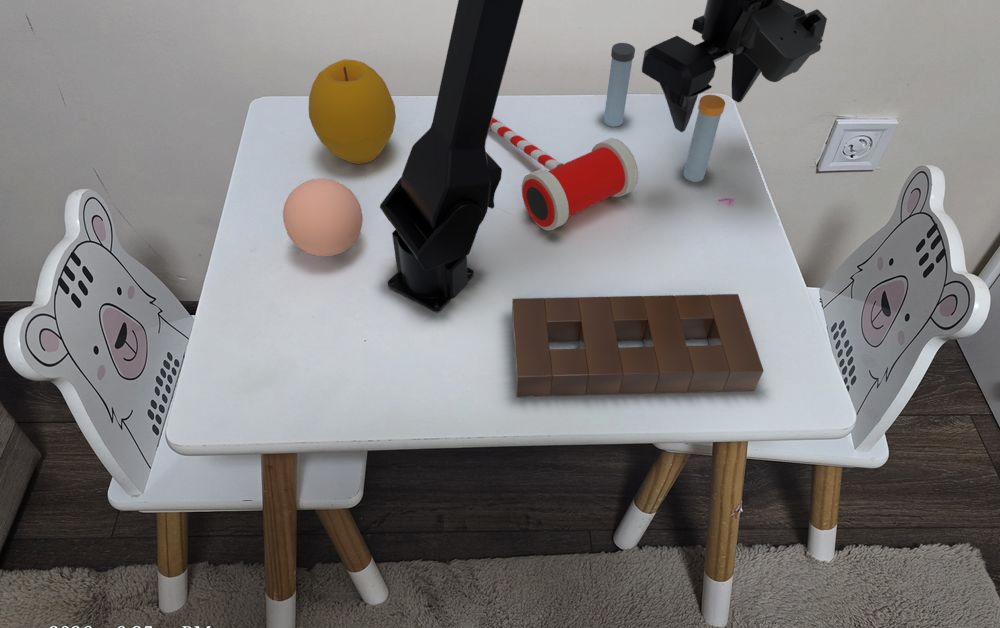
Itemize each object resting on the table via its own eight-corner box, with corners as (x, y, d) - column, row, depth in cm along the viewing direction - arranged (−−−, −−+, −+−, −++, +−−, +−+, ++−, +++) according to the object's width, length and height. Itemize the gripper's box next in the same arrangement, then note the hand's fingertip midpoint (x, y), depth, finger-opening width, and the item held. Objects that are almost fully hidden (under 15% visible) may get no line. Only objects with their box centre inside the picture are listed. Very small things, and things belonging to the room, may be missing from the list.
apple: (321, 131, 94) (303, 43, 85) (400, 128, 94) (390, 40, 85) (315, 181, 87) (295, 91, 78) (399, 177, 88) (389, 88, 79)
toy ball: (341, 211, 84) (330, 153, 78) (381, 248, 80) (373, 190, 74) (278, 243, 80) (260, 185, 74) (316, 284, 76) (301, 226, 71)
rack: (516, 396, 68) (517, 376, 65) (511, 319, 74) (512, 298, 71) (755, 390, 68) (764, 370, 66) (730, 314, 74) (738, 293, 72)
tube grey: (598, 122, 95) (607, 49, 88) (608, 112, 97) (618, 40, 89) (617, 130, 94) (628, 56, 87) (627, 119, 96) (639, 46, 88)
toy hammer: (439, 137, 93) (436, 92, 88) (516, 106, 98) (517, 62, 93) (553, 242, 81) (557, 196, 76) (635, 202, 85) (644, 156, 81)
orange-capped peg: (678, 177, 88) (695, 103, 81) (688, 165, 90) (706, 91, 82) (699, 185, 87) (719, 111, 80) (709, 173, 89) (729, 99, 81)
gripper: (748, 37, 62) (707, 185, 74) (878, -24, 70) (822, 119, 82) (651, -13, 68) (627, 132, 80) (781, -65, 76) (742, 74, 88)
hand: (708, 115), depth 82 cm, fingers open, 9 cm apart
